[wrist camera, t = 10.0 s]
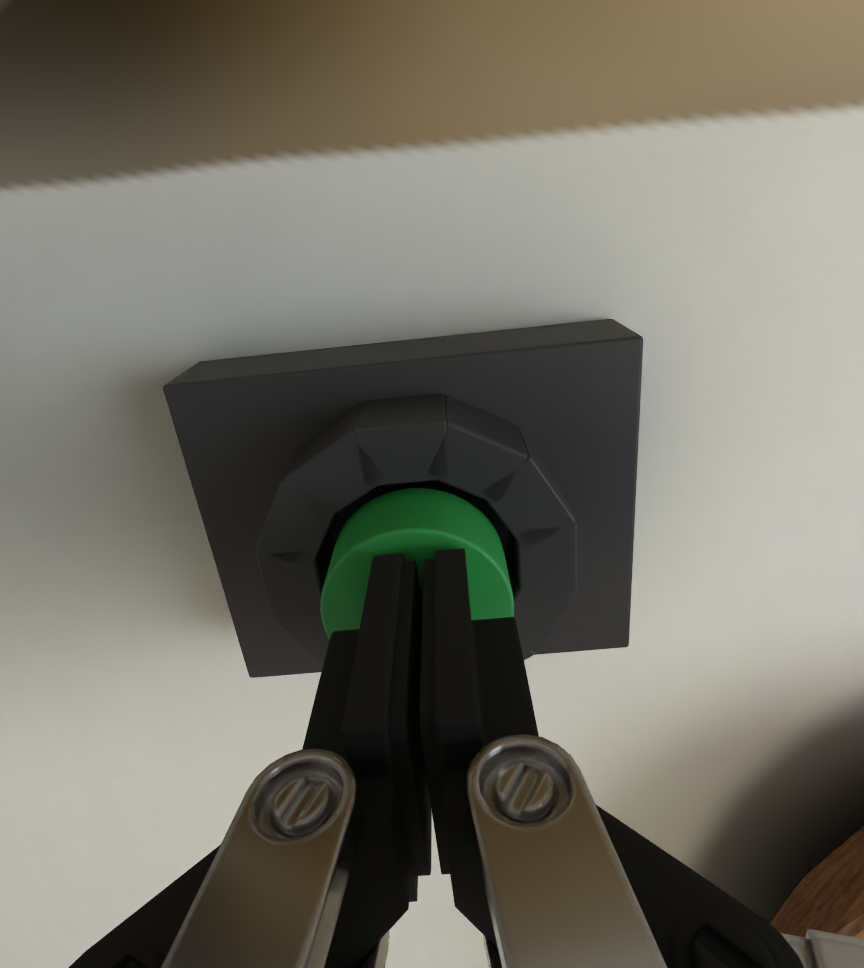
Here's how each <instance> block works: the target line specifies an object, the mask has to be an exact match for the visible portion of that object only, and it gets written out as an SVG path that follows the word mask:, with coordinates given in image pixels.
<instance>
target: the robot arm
mask: <svg viewBox="0 0 864 968" xmlns="http://www.w3.org/2000/svg"><path fill="white" fill-rule="evenodd" d="M431 808H432V814H433V821H434V828H435V834H436V841H437V848H438V854H439V861H440V868H441V873H442V874H451V882H452V889H453V896H454V903H455V907H456V908H457V909H458V910H459V911H460V912H461V913H462V914H463V915H464V916H465V917H466V918H467V919H468V920H469V921H470V922H471V923H472V924H473V925H474V926H475V927H476V928H477V929H478V930H480V931H481V932H482V933H483V937H484V945H485V950H486V955H487V960H488V965H489V968H864V939H860V938H855V937H850V936H844V935H839V934H834V933H828V932H823V931H818V930H812V929H807V933H806V937H805V938H804V937H799V936H794V935H789V934H783V933H780V932H779V931H778V930H776V929H775V928H774V927H773V926H772V925H770V924H769V923H768V922H767V921H766V920H764V919H763V918H762V917H761V916H760V915H758V914H757V913H755V912H754V911H753V910H751V909H750V908H748V907H747V906H745V905H744V904H742V903H741V902H739V901H738V900H736V899H735V898H733V897H732V896H730V895H729V894H727V893H726V892H724V891H723V890H721V889H720V888H718V887H717V886H715V885H714V884H713V883H711V882H710V881H708V880H707V879H705V878H704V877H702V876H701V875H699V874H698V873H696V872H695V871H693V870H692V869H690V868H689V867H687V866H686V865H684V864H683V863H681V862H680V861H678V860H677V859H676V858H674V857H673V856H671V855H670V854H668V853H667V852H665V851H664V850H662V849H661V848H659V847H658V846H656V845H655V844H653V843H652V842H650V841H649V840H647V839H646V838H644V837H643V836H641V835H640V834H638V833H637V832H636V831H634V830H633V829H631V828H630V827H628V826H627V825H625V824H624V823H622V822H621V821H619V820H618V819H616V818H615V817H613V816H612V815H610V814H609V813H607V812H606V811H604V810H603V809H601V808H600V807H598V806H597V805H596V804H595V803H594V800H593V798H592V796H591V794H590V791H589V789H588V787H587V785H586V782H585V780H584V778H583V776H582V773H581V771H580V769H579V767H578V766H577V764H576V763H575V761H574V760H573V758H572V757H571V755H570V754H568V753H567V752H566V751H565V750H564V749H562V748H561V747H560V746H559V745H558V744H555V743H553V742H551V741H549V740H547V739H545V738H543V737H539V736H538V731H537V725H536V720H535V715H534V710H533V705H532V700H531V695H530V690H529V685H528V680H527V675H526V670H525V664H524V659H523V654H522V649H521V644H520V639H519V634H518V629H517V624H516V620H515V617H506V618H493V619H481V620H471V610H470V599H469V588H468V577H467V566H466V555H465V548H461V549H449V550H437V551H435V559H425V560H424V582H423V610H422V603H421V595H420V588H419V580H418V573H417V565H416V561H415V560H412V561H405V558H404V554H403V553H402V554H390V555H378V556H373V558H372V563H371V569H370V574H369V580H368V585H367V591H366V596H365V602H364V607H363V613H362V618H361V624H360V629H355V630H342V631H334V632H333V633H332V634H331V637H330V640H329V644H328V648H327V652H326V656H325V660H324V664H323V668H322V673H321V677H320V681H319V685H318V689H317V693H316V697H315V701H314V705H313V709H312V713H311V717H310V721H309V725H308V729H307V733H306V737H305V741H304V745H303V749H302V750H300V751H297V752H294V753H291V754H288V755H285V756H283V757H281V758H280V759H278V760H276V761H275V762H273V763H271V764H270V765H269V766H267V767H266V768H265V769H264V770H263V771H262V772H261V773H260V774H259V775H258V776H257V777H256V778H255V780H254V781H253V783H252V784H251V786H250V787H249V789H248V790H247V792H246V794H245V796H244V798H243V800H242V802H241V804H240V806H239V808H238V810H237V813H236V815H235V817H234V819H233V821H232V823H231V825H230V827H229V829H228V831H227V833H226V835H225V837H224V839H223V841H222V843H221V845H220V846H218V847H217V848H216V849H215V850H213V851H212V852H211V853H210V854H208V855H207V856H206V857H205V858H203V859H202V860H201V861H199V862H198V863H197V864H196V865H194V866H193V867H192V868H191V869H189V870H188V871H187V872H186V873H184V874H183V875H182V876H180V877H179V878H178V879H177V880H175V881H174V882H173V883H172V884H170V885H169V886H168V887H167V888H165V889H164V890H163V891H162V892H160V893H159V894H158V895H156V896H155V897H154V898H153V899H151V900H150V901H149V902H148V903H146V904H145V905H144V906H143V907H141V908H140V909H139V910H137V911H136V912H135V913H134V914H132V915H131V916H130V917H129V918H127V919H126V920H125V921H124V922H122V923H121V924H120V925H118V926H117V927H116V928H115V929H113V930H112V931H111V932H110V933H108V934H107V935H106V936H105V937H103V938H102V939H101V940H100V941H98V942H97V943H96V944H94V945H93V946H92V947H91V948H89V949H88V950H87V951H86V952H85V953H84V954H82V955H81V956H80V957H79V958H78V959H77V960H76V961H75V962H74V963H73V964H72V965H71V966H70V967H69V968H385V964H386V959H387V954H388V947H389V930H390V928H391V927H392V926H393V925H394V924H395V923H396V922H397V921H398V920H399V919H400V918H401V916H402V915H403V914H404V913H405V912H406V911H407V910H408V906H409V902H413V901H417V886H418V876H422V875H430V874H431Z"/></svg>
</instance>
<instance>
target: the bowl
mask: <svg viewBox="0 0 864 968" xmlns="http://www.w3.org/2000/svg"><path fill="white" fill-rule="evenodd" d="M770 925H772V926H773V927H774V928H775V929H776V930H778V931H779V932H780V933H783V934H789V935H794V936H799V937H804V938H805V937H806V933H807V929H812V930H818V931H823V932H828V933H834V934H839V935H844V936H850V937H855V938H860V939H864V826H863V827H861V828H860V829H859V830H858V831H857V832H856V833H854V834H853V835H852V836H851V837H850V838H848V839H847V840H846V841H845V842H844V843H843V844H841V845H840V846H839V847H838V848H837V849H836V850H834V851H833V852H832V853H831V854H830V855H829V856H827V857H826V858H825V859H824V860H823V861H821V862H820V863H819V864H818V865H817V866H816V867H814V868H813V869H812V870H811V871H810V872H809V873H807V874H806V875H805V876H804V877H803V879H802V880H801V881H800V883H799V884H798V885H797V886H796V888H795V889H794V890H793V891H792V893H791V894H790V896H789V897H788V899H787V900H786V901H785V903H784V904H783V906H782V907H781V909H780V910H779V911H778V913H777V914H776V916H775V917H774V918H773V920H772V921H771V923H770Z"/></svg>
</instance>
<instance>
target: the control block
mask: <svg viewBox="0 0 864 968" xmlns="http://www.w3.org/2000/svg"><path fill="white" fill-rule="evenodd" d="M642 351H643V338H642V336H640V335H638V334H637V333H635V332H633V331H632V330H630V329H628V328H627V327H625V326H623V325H622V324H620V323H618V322H617V321H615V320H613V319H607V320H597V321H587V322H578V323H568V324H558V325H549V326H539V327H530V328H520V329H510V330H501V331H491V332H481V333H472V334H462V335H452V336H443V337H433V338H424V339H414V340H404V341H395V342H385V343H375V344H366V345H356V346H347V347H337V348H327V349H318V350H308V351H298V352H289V353H279V354H269V355H260V356H250V357H241V358H231V359H221V360H212V361H202V362H199V363H197V364H196V365H194V366H193V367H191V368H190V369H188V370H187V371H185V372H183V373H182V374H180V375H179V376H177V377H176V378H174V379H173V380H171V381H170V382H168V383H167V384H165V385H164V386H163V390H164V394H165V397H166V400H167V404H168V407H169V410H170V414H171V417H172V420H173V424H174V427H175V430H176V434H177V437H178V440H179V444H180V447H181V450H182V454H183V457H184V460H185V464H186V467H187V470H188V474H189V477H190V480H191V484H192V487H193V490H194V494H195V497H196V500H197V503H198V507H199V510H200V513H201V517H202V520H203V523H204V527H205V530H206V533H207V537H208V540H209V543H210V547H211V550H212V553H213V557H214V560H215V563H216V567H217V570H218V573H219V577H220V580H221V583H222V587H223V590H224V593H225V597H226V600H227V603H228V607H229V610H230V613H231V617H232V620H233V623H234V626H235V630H236V633H237V636H238V640H239V643H240V646H241V650H242V653H243V656H244V660H245V663H246V666H247V670H248V673H249V676H250V677H252V678H254V677H266V676H278V675H290V674H303V673H315V672H322V668H323V664H324V660H325V656H326V652H327V648H328V644H329V638H328V636H327V634H326V631H325V629H324V625H323V622H322V617H321V610H320V609H321V595H322V590H323V586H324V582H325V579H326V575H327V572H328V568H329V565H330V561H331V558H332V554H333V551H334V547H335V544H336V541H337V538H338V535H339V533H340V531H341V529H342V528H343V526H344V524H345V523H346V522H347V520H348V519H349V518H350V517H351V516H352V515H353V514H354V513H355V512H356V511H357V510H358V509H359V508H360V507H362V506H363V505H364V504H366V503H367V502H369V501H371V500H373V499H374V498H376V497H379V496H381V495H383V494H386V493H389V492H393V491H396V490H402V489H408V488H427V489H435V490H440V491H444V492H447V493H450V494H453V495H456V496H458V497H460V498H462V499H464V500H466V501H468V502H469V503H471V504H472V505H474V506H475V507H476V508H478V509H479V510H480V511H481V512H482V513H483V514H484V515H485V516H486V517H487V518H488V519H489V520H490V522H491V523H492V525H493V526H494V528H495V529H496V531H497V533H498V535H499V537H500V540H501V543H502V547H503V551H504V555H505V560H506V565H507V569H508V574H509V578H510V583H511V588H512V592H513V599H514V616H513V617H515V620H516V624H517V629H518V634H519V639H520V644H521V649H522V654H523V659H524V660H525V659H527V658H529V657H531V656H533V655H535V654H547V653H559V652H572V651H584V650H596V649H608V648H620V647H627V646H628V644H629V625H630V604H631V583H632V562H633V541H634V520H635V499H636V478H637V457H638V436H639V415H640V394H641V372H642Z"/></svg>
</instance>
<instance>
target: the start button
mask: <svg viewBox="0 0 864 968" xmlns="http://www.w3.org/2000/svg"><path fill="white" fill-rule="evenodd" d="M461 548H465V555H466V566H467V577H468V588H469V599H470V610H471V620H481V619H493V618H506V617H513V616H514V599H513V592H512V588H511V583H510V578H509V574H508V569H507V565H506V560H505V555H504V551H503V547H502V543H501V540H500V537H499V535H498V533H497V531H496V529H495V528H494V526H493V525H492V523H491V522H490V520H489V519H488V518H487V517H486V516H485V515H484V514H483V513H482V512H481V511H480V510H479V509H478V508H476V507H475V506H474V505H472V504H471V503H469V502H468V501H466V500H464V499H462V498H460V497H458V496H456V495H453V494H450V493H447V492H444V491H440V490H435V489H427V488H408V489H402V490H396V491H393V492H389V493H386V494H383V495H381V496H379V497H376V498H374V499H373V500H371V501H369V502H367V503H366V504H364V505H363V506H362V507H360V508H359V509H358V510H357V511H356V512H355V513H354V514H353V515H352V516H351V517H350V518H349V519H348V520H347V522H346V523H345V524H344V526H343V528H342V529H341V531H340V533H339V535H338V538H337V541H336V544H335V547H334V551H333V554H332V558H331V561H330V565H329V568H328V572H327V575H326V579H325V582H324V586H323V590H322V595H321V609H320V610H321V617H322V622H323V625H324V629H325V631H326V634H327V636H328V638H329V640H330V637H331V634H332V633H333V632H334V631H342V630H355V629H360V624H361V618H362V613H363V607H364V602H365V596H366V591H367V585H368V580H369V574H370V569H371V563H372V558H373V556H378V555H390V554H402V553H403V554H404V558H405V561H412V560H415V561H416V565H417V573H418V580H419V588H420V595H421V603H422V610H423V582H424V560H425V559H435V551H437V550H449V549H461Z"/></svg>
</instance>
